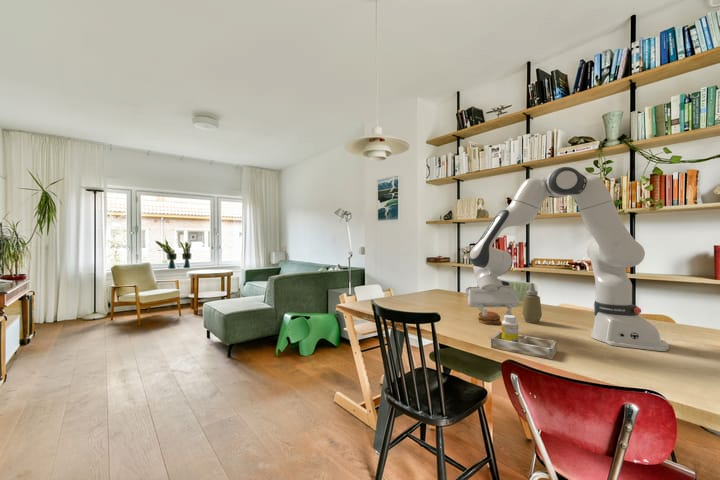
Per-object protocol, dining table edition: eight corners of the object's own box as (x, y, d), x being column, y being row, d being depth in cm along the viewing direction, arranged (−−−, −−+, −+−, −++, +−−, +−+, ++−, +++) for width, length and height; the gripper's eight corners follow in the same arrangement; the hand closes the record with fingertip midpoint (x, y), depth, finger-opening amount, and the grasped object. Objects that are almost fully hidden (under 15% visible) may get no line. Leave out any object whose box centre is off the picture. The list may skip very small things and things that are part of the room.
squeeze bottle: (545, 324, 147) (545, 284, 146) (527, 324, 147) (527, 284, 147) (536, 319, 155) (536, 282, 155) (519, 319, 155) (519, 282, 155)
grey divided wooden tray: (556, 350, 113) (556, 341, 113) (552, 359, 105) (552, 349, 105) (499, 340, 125) (499, 331, 125) (490, 347, 117) (490, 338, 117)
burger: (504, 324, 148) (504, 313, 148) (487, 326, 145) (487, 315, 145) (490, 319, 157) (490, 309, 157) (474, 320, 154) (473, 311, 154)
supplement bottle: (504, 340, 122) (504, 313, 121) (520, 343, 118) (520, 315, 118) (499, 344, 117) (499, 316, 117) (516, 347, 114) (515, 318, 114)
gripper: (465, 282, 138) (472, 310, 128) (515, 282, 136) (525, 311, 127) (463, 291, 142) (469, 319, 133) (511, 291, 141) (520, 319, 131)
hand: (497, 315), depth 130 cm, fingers open, 8 cm apart
